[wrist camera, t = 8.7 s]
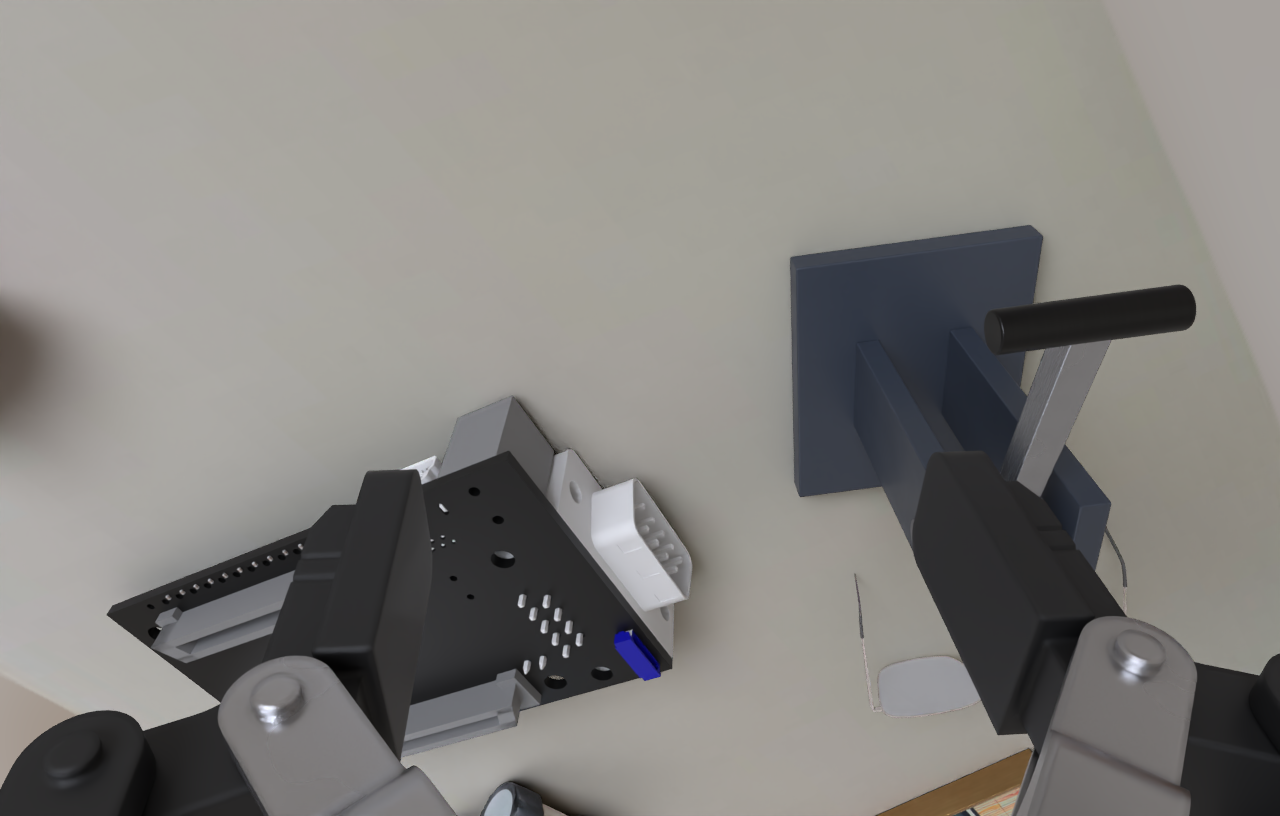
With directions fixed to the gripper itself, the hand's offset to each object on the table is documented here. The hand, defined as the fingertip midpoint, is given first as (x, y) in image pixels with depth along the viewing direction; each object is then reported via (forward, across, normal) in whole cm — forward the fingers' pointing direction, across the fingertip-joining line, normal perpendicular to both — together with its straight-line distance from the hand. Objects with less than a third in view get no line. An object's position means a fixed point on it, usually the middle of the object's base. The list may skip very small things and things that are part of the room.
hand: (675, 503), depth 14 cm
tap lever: (+12, -12, +7) cm, 18 cm away
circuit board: (+23, +10, +23) cm, 34 cm away
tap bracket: (+23, -13, +11) cm, 28 cm away
